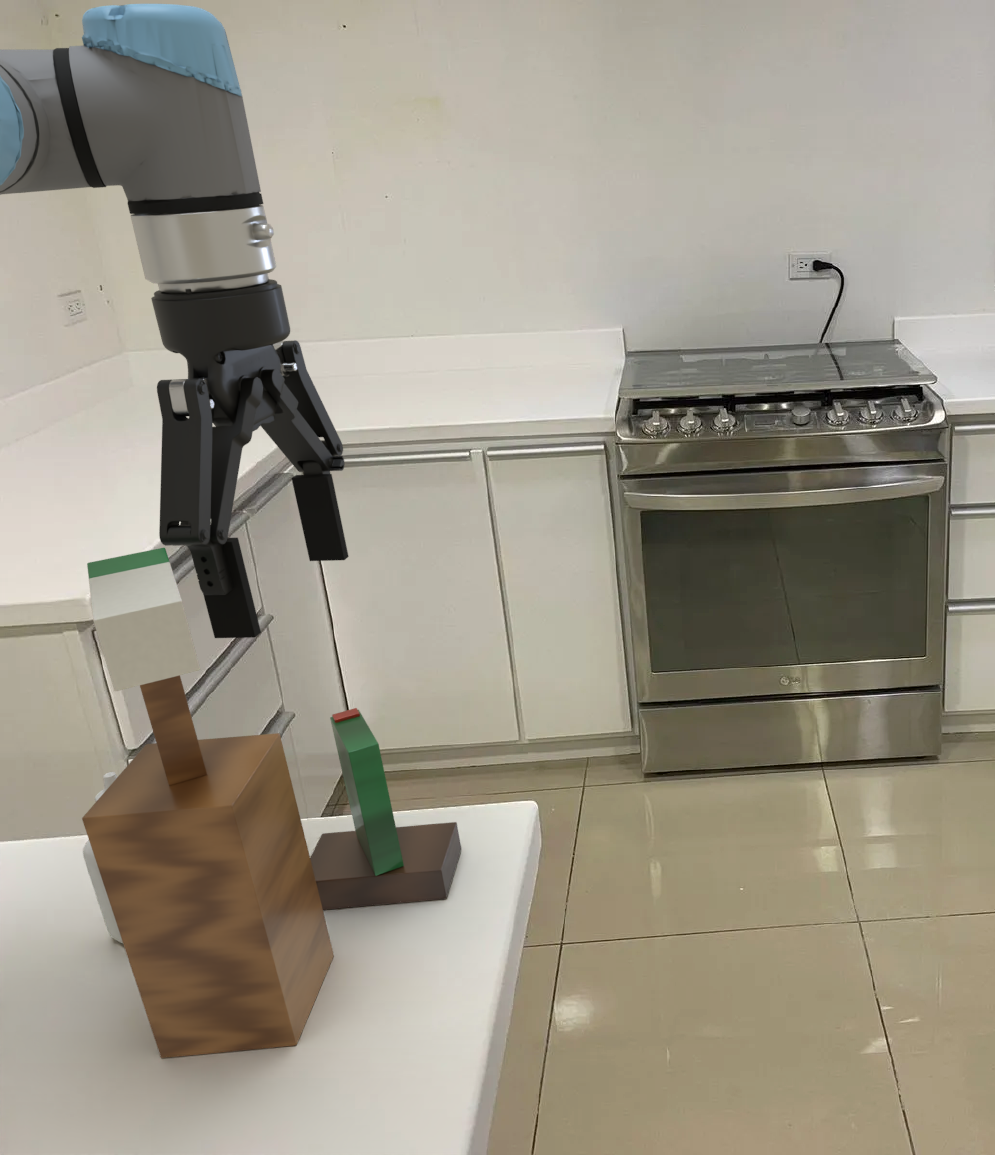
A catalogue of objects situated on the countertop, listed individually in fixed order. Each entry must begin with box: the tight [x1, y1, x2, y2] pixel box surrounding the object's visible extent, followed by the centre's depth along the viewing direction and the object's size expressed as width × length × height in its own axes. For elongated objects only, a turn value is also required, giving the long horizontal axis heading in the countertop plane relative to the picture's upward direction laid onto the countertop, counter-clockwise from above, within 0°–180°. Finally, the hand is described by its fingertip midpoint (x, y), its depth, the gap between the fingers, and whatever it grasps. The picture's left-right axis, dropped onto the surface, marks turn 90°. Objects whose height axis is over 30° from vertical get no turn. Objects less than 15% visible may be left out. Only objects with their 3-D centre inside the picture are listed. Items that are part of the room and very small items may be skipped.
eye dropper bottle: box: [82, 771, 123, 944], centre depth 77 cm, size 4×6×12 cm
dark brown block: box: [310, 821, 462, 911], centre depth 82 cm, size 10×6×2 cm, turn 94°
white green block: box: [86, 547, 201, 692], centre depth 61 cm, size 10×4×4 cm, turn 31°
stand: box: [81, 675, 335, 1059], centre depth 67 cm, size 8×8×25 cm
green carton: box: [329, 707, 404, 876], centre depth 80 cm, size 6×2×10 cm, turn 31°
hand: (287, 594), depth 78 cm, fingers open, 13 cm apart
